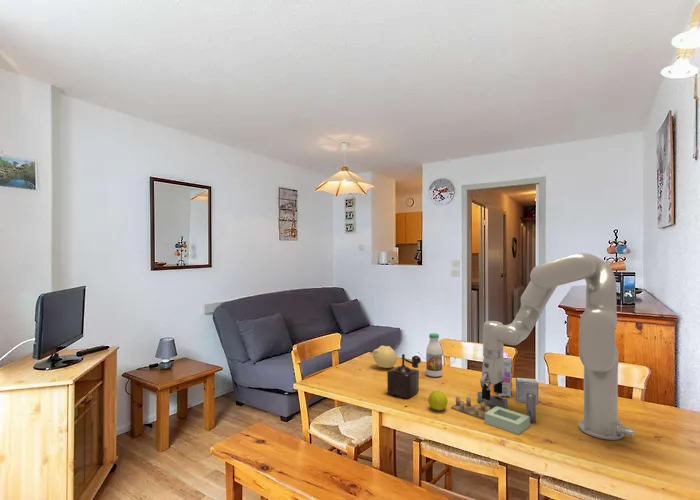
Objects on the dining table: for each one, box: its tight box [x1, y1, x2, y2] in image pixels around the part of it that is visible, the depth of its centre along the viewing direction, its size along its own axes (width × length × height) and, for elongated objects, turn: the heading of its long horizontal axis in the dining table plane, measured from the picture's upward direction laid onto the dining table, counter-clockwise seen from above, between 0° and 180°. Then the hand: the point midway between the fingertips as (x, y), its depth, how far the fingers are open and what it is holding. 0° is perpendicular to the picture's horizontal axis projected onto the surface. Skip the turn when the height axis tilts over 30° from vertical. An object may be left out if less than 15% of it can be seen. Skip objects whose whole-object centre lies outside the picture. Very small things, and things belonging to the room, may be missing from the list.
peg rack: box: [450, 396, 491, 421], centre depth 144 cm, size 14×7×4 cm, turn 42°
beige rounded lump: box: [372, 345, 398, 369], centre depth 200 cm, size 11×12×11 cm
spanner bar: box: [477, 391, 509, 410], centre depth 150 cm, size 12×3×4 cm, turn 42°
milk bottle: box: [425, 332, 443, 378], centre depth 187 cm, size 8×8×20 cm
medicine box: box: [515, 377, 540, 405], centre depth 154 cm, size 8×4×9 cm, turn 74°
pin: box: [525, 393, 537, 425], centre depth 135 cm, size 3×3×10 cm
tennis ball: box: [427, 390, 448, 411], centre depth 146 cm, size 7×7×7 cm
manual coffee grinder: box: [386, 353, 422, 399], centre depth 162 cm, size 16×11×18 cm
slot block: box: [484, 406, 531, 435], centre depth 133 cm, size 12×9×4 cm
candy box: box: [492, 349, 513, 398], centre depth 165 cm, size 14×6×16 cm, turn 168°
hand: (492, 395), depth 150 cm, fingers open, 9 cm apart
